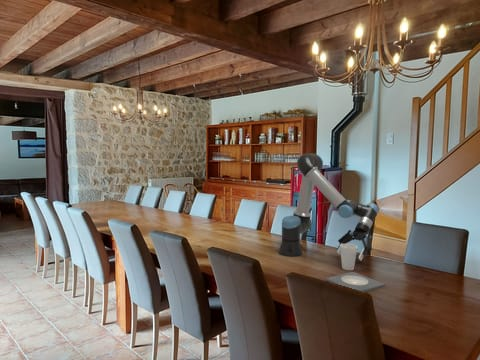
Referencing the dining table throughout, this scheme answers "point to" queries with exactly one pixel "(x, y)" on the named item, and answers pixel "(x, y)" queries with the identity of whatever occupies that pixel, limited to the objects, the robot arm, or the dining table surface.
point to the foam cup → (348, 256)
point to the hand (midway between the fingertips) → (348, 256)
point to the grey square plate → (355, 281)
